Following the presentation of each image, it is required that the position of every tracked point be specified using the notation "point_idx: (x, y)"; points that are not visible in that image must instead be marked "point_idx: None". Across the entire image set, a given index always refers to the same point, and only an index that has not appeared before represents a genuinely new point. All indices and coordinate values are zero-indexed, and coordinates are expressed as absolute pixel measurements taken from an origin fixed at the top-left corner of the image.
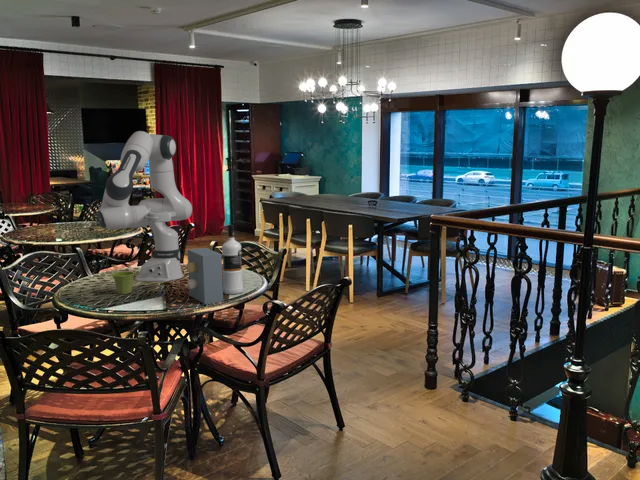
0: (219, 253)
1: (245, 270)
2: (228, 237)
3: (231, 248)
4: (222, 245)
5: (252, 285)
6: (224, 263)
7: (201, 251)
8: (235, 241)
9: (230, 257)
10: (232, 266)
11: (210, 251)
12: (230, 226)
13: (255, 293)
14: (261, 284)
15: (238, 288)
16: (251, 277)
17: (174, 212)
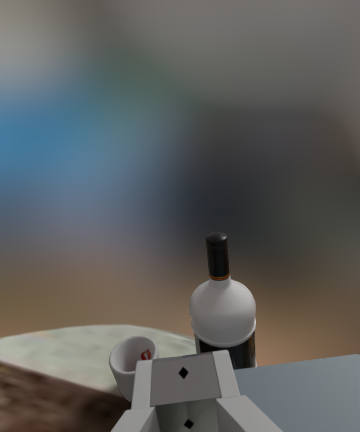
0: (343, 357)
1: (41, 331)
2: (218, 281)
3: (254, 308)
4: (215, 319)
5: (179, 353)
6: (235, 368)
7: (270, 415)
8: (232, 280)
9: (252, 336)
10: (254, 356)
11: (282, 378)
12: (226, 240)
13: None
14: (181, 336)
15: None
16: (108, 337)
17: (230, 359)
